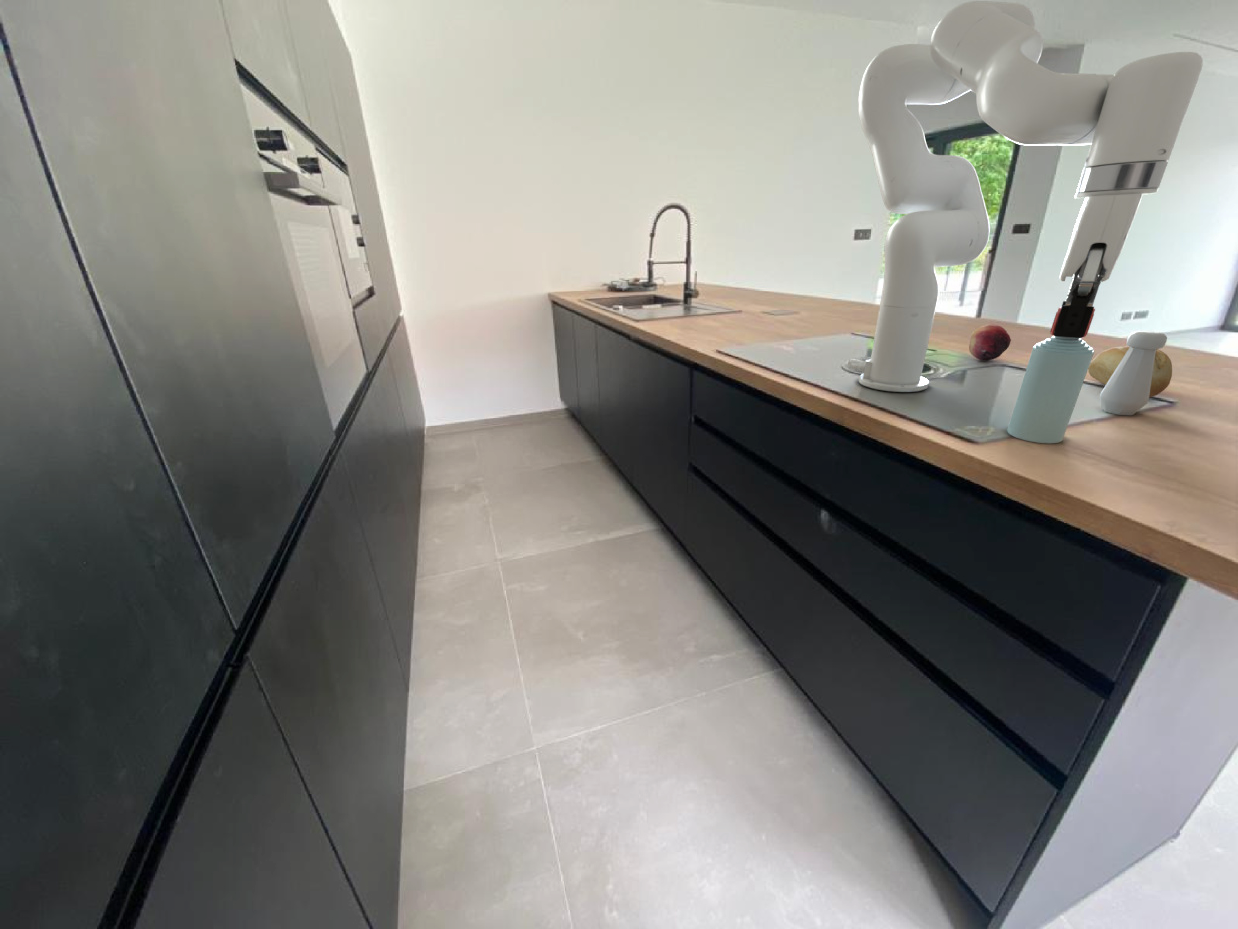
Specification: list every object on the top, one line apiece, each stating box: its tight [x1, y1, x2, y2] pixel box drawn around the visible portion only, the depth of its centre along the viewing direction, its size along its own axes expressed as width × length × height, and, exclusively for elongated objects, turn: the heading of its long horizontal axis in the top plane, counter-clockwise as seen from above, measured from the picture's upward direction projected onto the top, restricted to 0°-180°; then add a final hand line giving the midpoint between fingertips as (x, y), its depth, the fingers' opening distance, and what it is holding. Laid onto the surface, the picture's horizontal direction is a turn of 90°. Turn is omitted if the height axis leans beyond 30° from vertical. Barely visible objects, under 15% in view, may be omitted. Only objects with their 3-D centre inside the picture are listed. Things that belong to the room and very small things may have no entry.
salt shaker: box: [1099, 330, 1168, 416], centre depth 80 cm, size 6×6×13 cm
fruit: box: [968, 324, 1012, 362], centre depth 115 cm, size 8×8×8 cm
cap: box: [1049, 306, 1096, 338], centre depth 68 cm, size 4×4×4 cm
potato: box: [1087, 345, 1173, 398], centre depth 92 cm, size 10×15×8 cm, turn 166°
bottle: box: [1007, 335, 1095, 444], centre depth 72 cm, size 7×7×18 cm
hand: (1068, 332), depth 69 cm, fingers open, 4 cm apart
